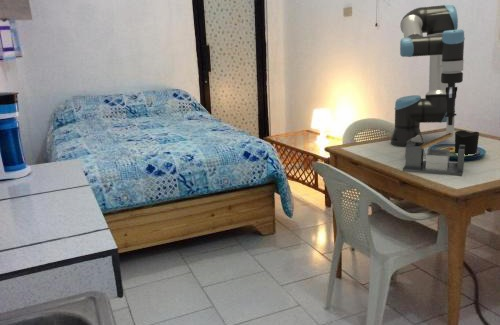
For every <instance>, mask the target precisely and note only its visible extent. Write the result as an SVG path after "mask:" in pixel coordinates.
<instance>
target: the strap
mask: <svg viewBox="0 0 500 325" xmlns="http://www.w3.org/2000/svg"><path fill="white" fill-rule="evenodd" d="M453 137H454V133H446V134H444V135H442V136H439V137H437V138H434V139H432V140H430V141H427V142H424V144H423V145H421V146H422V149H424V150H425V149H426V148H428V147H429V148H430V147H431V146H433V145H435V144H438V143H441V142H443V141H446V140H448V139H450V138H453Z"/></svg>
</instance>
